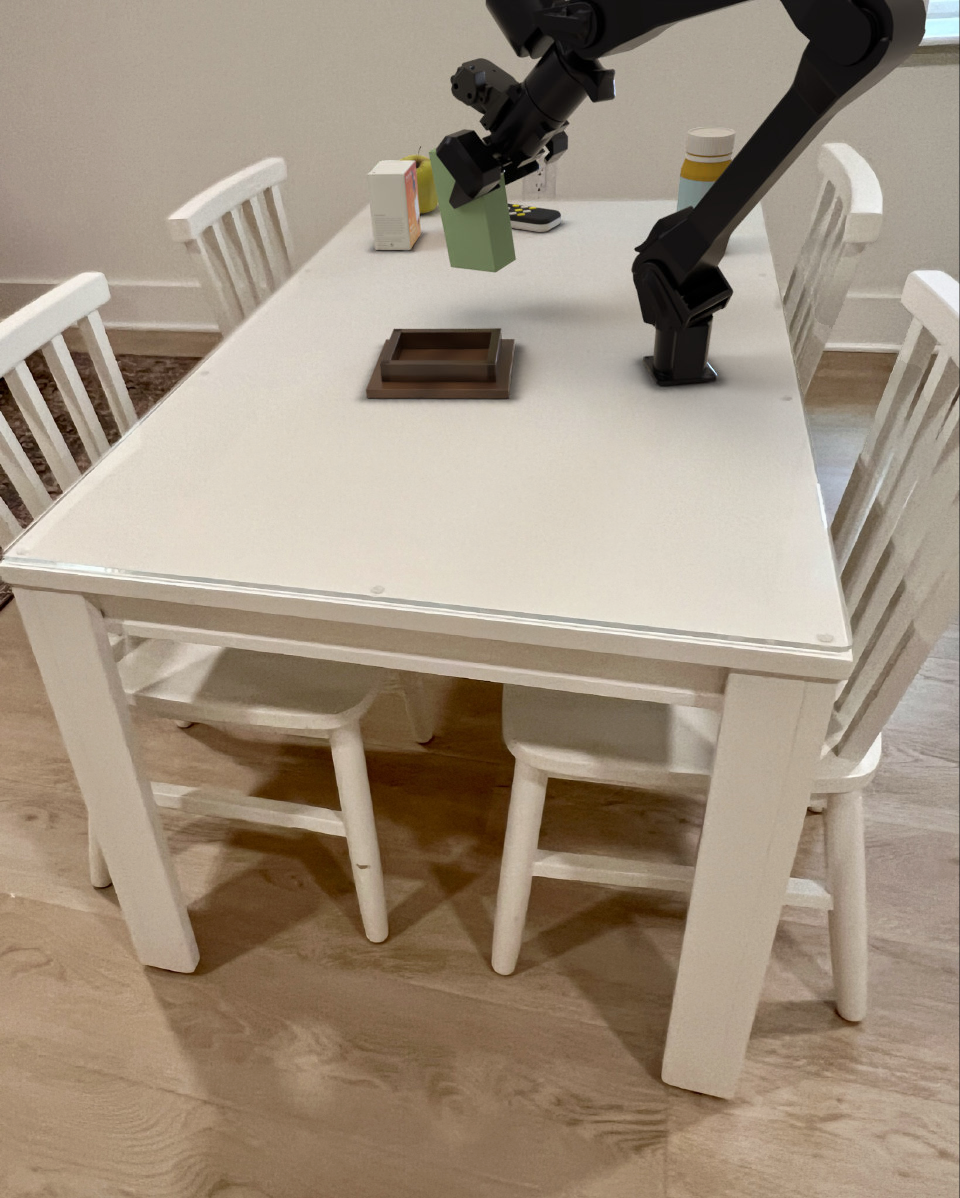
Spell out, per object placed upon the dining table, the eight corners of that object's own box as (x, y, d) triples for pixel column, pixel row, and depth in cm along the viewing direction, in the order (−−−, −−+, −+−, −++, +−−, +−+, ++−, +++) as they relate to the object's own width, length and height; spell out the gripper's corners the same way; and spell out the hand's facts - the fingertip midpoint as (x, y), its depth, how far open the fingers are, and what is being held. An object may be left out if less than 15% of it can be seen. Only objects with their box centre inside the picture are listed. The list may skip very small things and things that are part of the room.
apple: (398, 196, 149) (409, 134, 142) (441, 213, 148) (454, 152, 141) (379, 210, 143) (390, 146, 136) (424, 228, 142) (437, 165, 136)
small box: (411, 251, 130) (404, 173, 123) (373, 250, 131) (365, 173, 124) (422, 234, 136) (416, 159, 129) (386, 233, 137) (379, 159, 130)
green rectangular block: (471, 254, 109) (451, 140, 101) (516, 259, 105) (498, 140, 97) (450, 267, 107) (428, 151, 99) (495, 272, 103) (476, 152, 95)
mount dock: (515, 346, 102) (514, 321, 100) (508, 398, 92) (508, 371, 90) (386, 347, 104) (383, 322, 102) (366, 398, 94) (363, 371, 92)
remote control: (545, 234, 134) (545, 220, 132) (473, 223, 139) (473, 209, 138) (564, 222, 138) (564, 209, 136) (494, 212, 143) (493, 199, 142)
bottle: (723, 257, 123) (739, 138, 113) (672, 256, 124) (683, 137, 114) (723, 241, 128) (738, 125, 118) (673, 240, 129) (684, 125, 120)
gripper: (545, 17, 95) (465, 124, 107) (445, 43, 83) (367, 159, 95) (608, 105, 96) (522, 201, 108) (518, 143, 85) (432, 245, 96)
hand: (463, 199), depth 102 cm, fingers closed on green rectangular block, 4 cm apart
